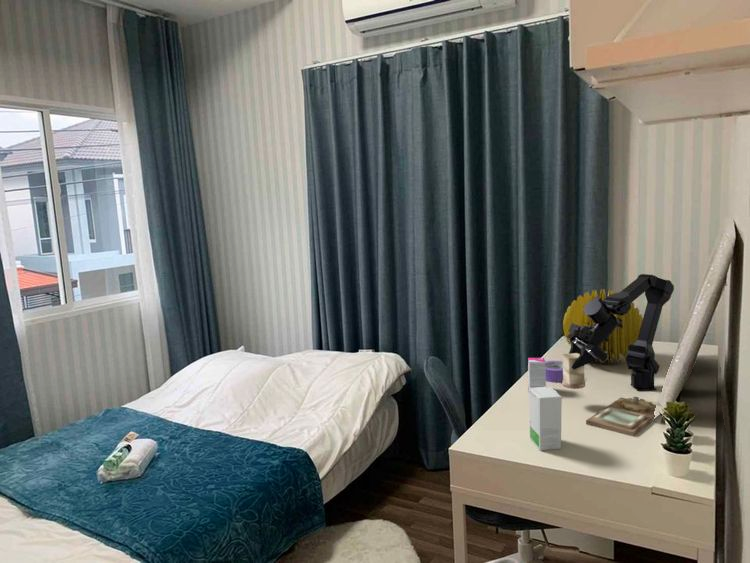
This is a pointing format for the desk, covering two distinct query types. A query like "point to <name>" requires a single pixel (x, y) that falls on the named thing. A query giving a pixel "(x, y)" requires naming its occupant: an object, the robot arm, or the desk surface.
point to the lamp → (618, 337)
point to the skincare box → (545, 418)
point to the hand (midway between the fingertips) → (569, 366)
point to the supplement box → (536, 373)
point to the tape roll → (554, 371)
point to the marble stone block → (572, 372)
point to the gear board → (624, 416)
